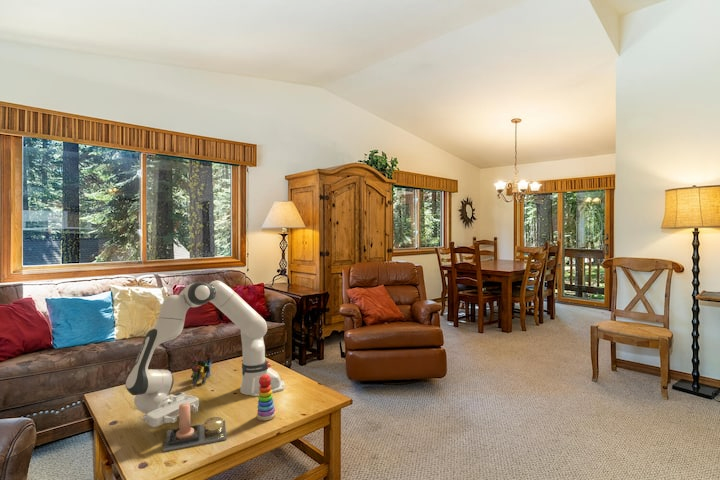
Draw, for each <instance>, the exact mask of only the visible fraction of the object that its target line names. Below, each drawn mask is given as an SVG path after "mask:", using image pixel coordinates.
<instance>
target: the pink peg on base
mask: <svg viewBox="0 0 720 480" xmlns="http://www.w3.org/2000/svg"><path fill="white" fill-rule="evenodd" d="M178 418H179V420H178V421H179V422H178V423H179V424H178V425H179V428H180V430H178V431H177V433H176V438H177V439H184V438H190V437H192V436H193V435H194V428H191V426H192V425H191V411H190V404H189V403H184V404H181V405H180V406H179V417H178Z"/></svg>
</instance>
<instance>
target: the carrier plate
mask: <svg viewBox="0 0 720 480" xmlns="http://www.w3.org/2000/svg"><path fill="white" fill-rule="evenodd" d="M191 428H194V435H193V436H192V437H190V438H184V439H177V438H176V433H177V431H178V430H180V427H177V428H176V427H175V428H172V429H168V430H167V432H166V434H165V435H166V436H165V440H164V444H163V448H162V449H163V450H162V451H163V452H170V451H174V450H180V449H185V448H190V447H197V446H201V445H206V444H211V443H217V442H222V441H226V440H227V433H226V432H227V430H226V428H227V427H226V420H224V419H223V417H220V416H213V417H209V418H207V419H206V420H205V421H204V422H203V423H201V424H195V425H194V424H193V425H191Z"/></svg>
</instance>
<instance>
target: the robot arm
mask: <svg viewBox="0 0 720 480" xmlns="http://www.w3.org/2000/svg"><path fill="white" fill-rule="evenodd" d="M207 303H211V304H213V306H215V307H216V308H217V309H218V310H219V311H220V312H221V313H223V314H224V316H226V317H227V318H228V319H229V320H230V321H231V322H232V323H234V325H236V326H237V328H239V329H240V338H241V339H240V340H241V345H242V346H241V347H242V348H241V349H242V351H241V352H242V363H241V374H242V376H241V377H242V378H241V385H240V389H239V392H240V393H241V394H243V395H246V396H252V397H259V392H260V390H259V388H260V386H261V385H260V384H259V379H260V377H261V376H262V375H269V376H270V378H271V382H270V384H269V385H270V386H271V390H272V394H273V393H277V392H280V391H284V390H285V389H286V384H285V382H284V380H282V379H281V375H280V374H279V372H278V371H276V370H274V369H273V368H271V367H272V364H271V363H270V361H268V360H267V359H266V346H265V341H264V337H265V335H266V334H267V332H268V325H267V321H266V320H265V319H264V318H263V316H262V315H261V314H259V313H258V312H257V311H256V310H255V309H254V308H252V306H250V304H248V302H246V301H245V300H244V299H243V298H242V297H241V296H240V295H239V294H238V293H237V292H235V291H234V289H232V288H231V287H230V286H228V285H227V284H226V283H224V282H223V281H221V280H217V279H216V280H213V281H211V282H208V283H207V282H204V281H197V282H194V283H190V284H188V285H187V286H185V287H183V288H182V289H181V290H180V292H178V293H177V294H171V295H167V296H166V297H165V298H164V299H163V301H162V304H161V306H160V310H159V312H158V316H157V320H156V323H155V325H154V326H153V328H152V329H150V330H149V331H148V332H147V333H146V334H145V336H144V338H143V341H142V343H141V346H140V348H139V351H138V353H137V356H136V358H135V361H134V363H133V366H132V368H131V370H130V371H129V373H128V375H127V376H126V379H125V383H124V384H125V389H126V390H127V392H128V393H130V395H132V396H135V397H134V398H133V403H134V404H133V405H134V406H135V408H136V409H137V410H138V411H139V412H141V413H143V414H144V415H143V417H141V421H143V422H146V424H147V425H148V426H150V427H152V428H157V427H159V426H161V425H164V424H168V423H169V424H171V423H172V424H175V423H177V422H178V418H179V406H180V405H181V404H184V403H189V404H190V412H192V413H194V414H196V413H197V412H199V406H200V400H199V398H198V397H197V396H195V395H194V396H193V395H191V394H185V392H178V393H173V394H170V393H171V391H172V389H173V386H174V381H175V380H174V375H173V373H172V372H171V371H170V370H169V369H162V368H161V369H160V368H157V369H156V368H155V369H151V368H150V369H149V365H150V363H151V359H152V358H153V354H154V352H155V349H156V348H157V347H158V346H159V345H161V344H163V343H166V342H170V341H172V340H175V339H176V338H177V337H178V336H179V335H181V334H182V332H183V330H184V327H185V321H186V314H187V313H188V310H189V309H193V308H198V307H201V306H203V305H205V304H207Z"/></svg>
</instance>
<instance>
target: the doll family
mask: <svg viewBox="0 0 720 480" xmlns="http://www.w3.org/2000/svg"><path fill="white" fill-rule="evenodd" d="M206 357H207V359H206V361H205V360H197V363H196V364H197V365H192V367H191V371H192V374H191V375H190V378H192V385H191V389H197V388H198V382H201V383H200V386H205V385H206V384H207V381H206V380H207V379H208V378H210V377H211V376H212V372H211V369H212V368H211V367H212V363H213V362H214V361H213V359H212V357H213V353H212V352H207V353H206Z"/></svg>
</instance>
